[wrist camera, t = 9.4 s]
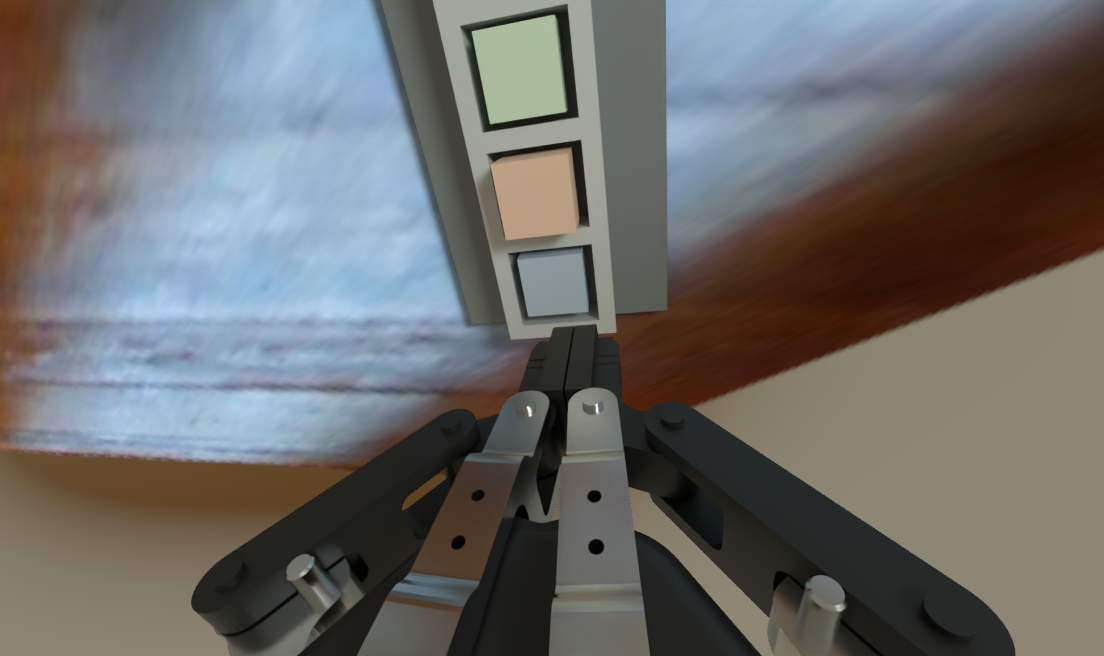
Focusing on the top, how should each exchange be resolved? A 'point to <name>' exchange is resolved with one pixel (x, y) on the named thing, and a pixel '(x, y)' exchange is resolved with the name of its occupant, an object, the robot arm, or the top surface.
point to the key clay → (537, 193)
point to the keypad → (588, 127)
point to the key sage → (522, 69)
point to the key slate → (555, 280)
